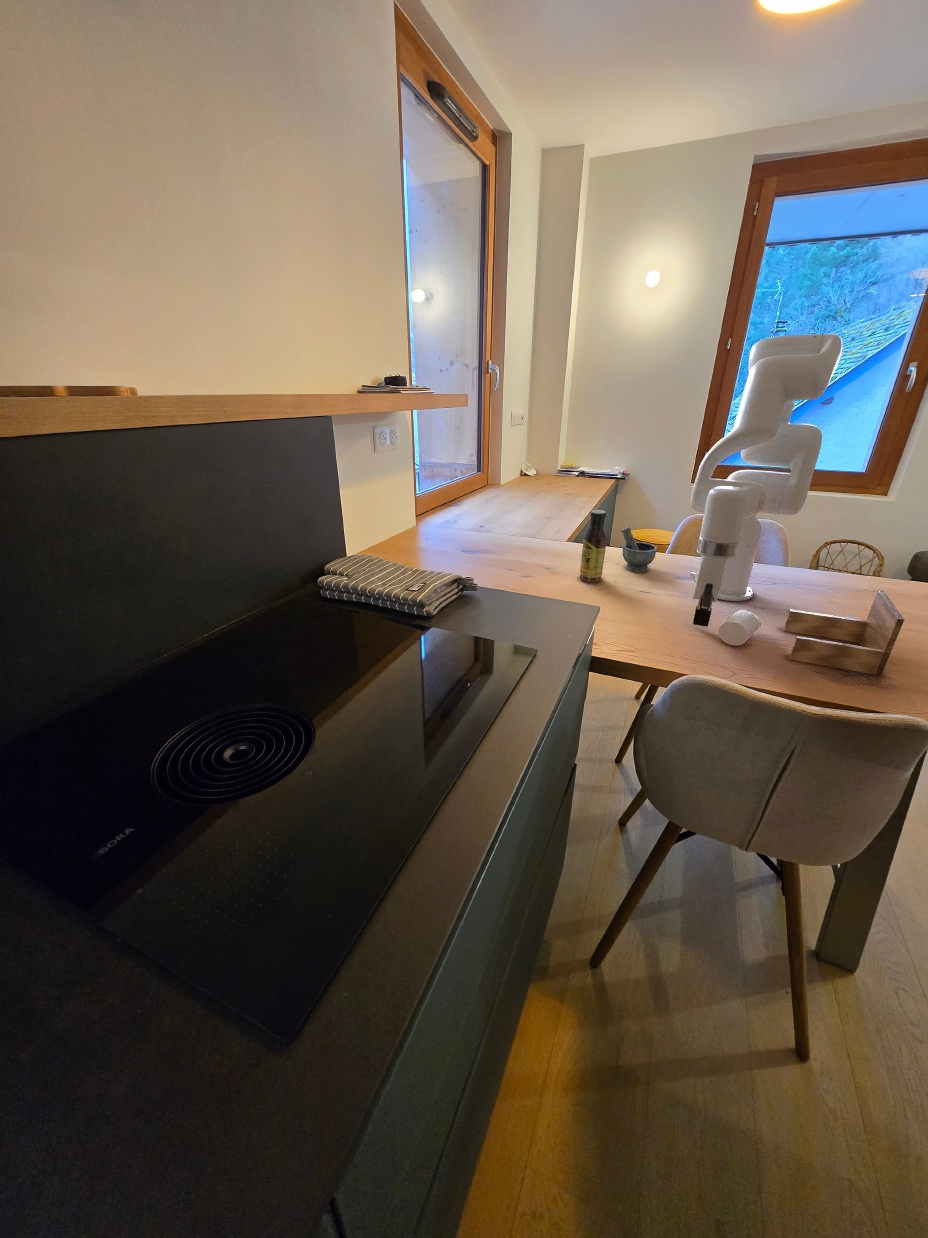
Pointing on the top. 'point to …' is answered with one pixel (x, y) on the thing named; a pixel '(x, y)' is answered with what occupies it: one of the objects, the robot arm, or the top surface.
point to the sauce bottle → (594, 548)
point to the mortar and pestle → (637, 552)
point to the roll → (739, 628)
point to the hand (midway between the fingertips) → (700, 624)
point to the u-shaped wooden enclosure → (847, 637)
